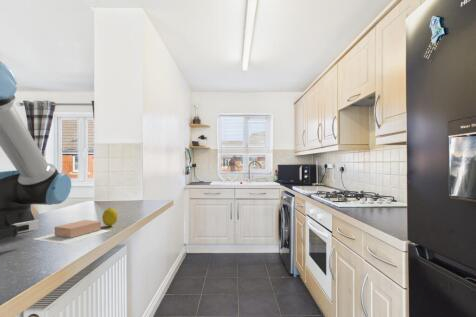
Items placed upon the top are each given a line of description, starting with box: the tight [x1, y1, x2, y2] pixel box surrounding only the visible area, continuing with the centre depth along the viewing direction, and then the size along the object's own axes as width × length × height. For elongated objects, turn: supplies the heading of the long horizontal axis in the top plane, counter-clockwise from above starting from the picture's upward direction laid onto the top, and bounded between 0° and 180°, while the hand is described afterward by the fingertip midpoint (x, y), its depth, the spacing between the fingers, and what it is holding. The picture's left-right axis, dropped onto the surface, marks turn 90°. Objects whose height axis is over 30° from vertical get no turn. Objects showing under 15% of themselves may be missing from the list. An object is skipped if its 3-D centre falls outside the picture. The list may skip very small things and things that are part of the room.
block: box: [53, 219, 102, 238], centre depth 93 cm, size 8×3×12 cm
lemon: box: [102, 207, 118, 228], centre depth 104 cm, size 6×6×8 cm
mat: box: [33, 229, 112, 245], centre depth 91 cm, size 16×18×1 cm
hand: (37, 224), depth 80 cm, fingers closed
